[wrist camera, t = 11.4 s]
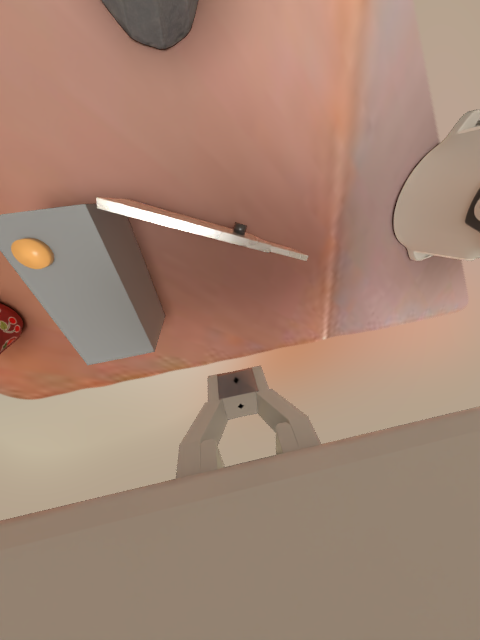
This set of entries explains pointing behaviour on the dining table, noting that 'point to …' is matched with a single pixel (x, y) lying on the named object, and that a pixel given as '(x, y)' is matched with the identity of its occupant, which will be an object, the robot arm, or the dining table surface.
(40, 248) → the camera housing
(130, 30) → the moka pot
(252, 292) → the dining table surface
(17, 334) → the smoothie
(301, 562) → the robot arm
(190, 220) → the side door
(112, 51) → the dining table surface
